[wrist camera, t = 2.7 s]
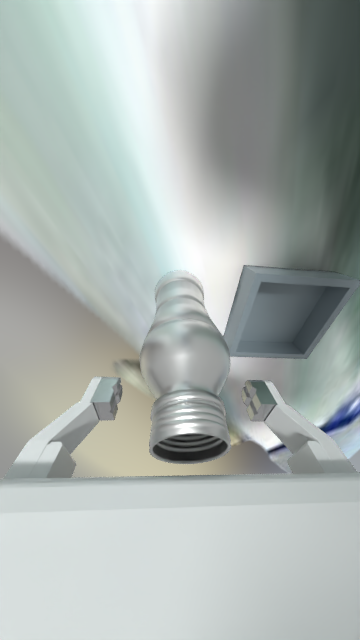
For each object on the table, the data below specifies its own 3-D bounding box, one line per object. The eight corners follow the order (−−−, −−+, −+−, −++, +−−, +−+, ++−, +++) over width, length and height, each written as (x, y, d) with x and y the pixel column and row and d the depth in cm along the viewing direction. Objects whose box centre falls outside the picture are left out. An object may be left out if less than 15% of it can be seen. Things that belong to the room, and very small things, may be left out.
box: (243, 265, 22) (256, 273, 19) (335, 272, 23) (362, 280, 20) (222, 340, 30) (228, 356, 26) (291, 343, 31) (306, 358, 27)
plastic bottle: (155, 265, 22) (94, 413, 5) (203, 267, 22) (293, 412, 5) (157, 306, 25) (123, 474, 9) (198, 307, 26) (244, 471, 9)
